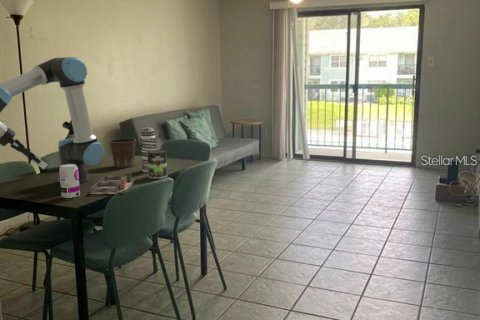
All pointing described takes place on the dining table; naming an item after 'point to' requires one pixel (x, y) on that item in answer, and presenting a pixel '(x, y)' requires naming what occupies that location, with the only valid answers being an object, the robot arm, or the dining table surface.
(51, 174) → the dining table surface
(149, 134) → the decorative candle
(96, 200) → the dining table surface
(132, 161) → the plant pot
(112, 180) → the beige shallow tray
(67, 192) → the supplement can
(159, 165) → the coffee can
